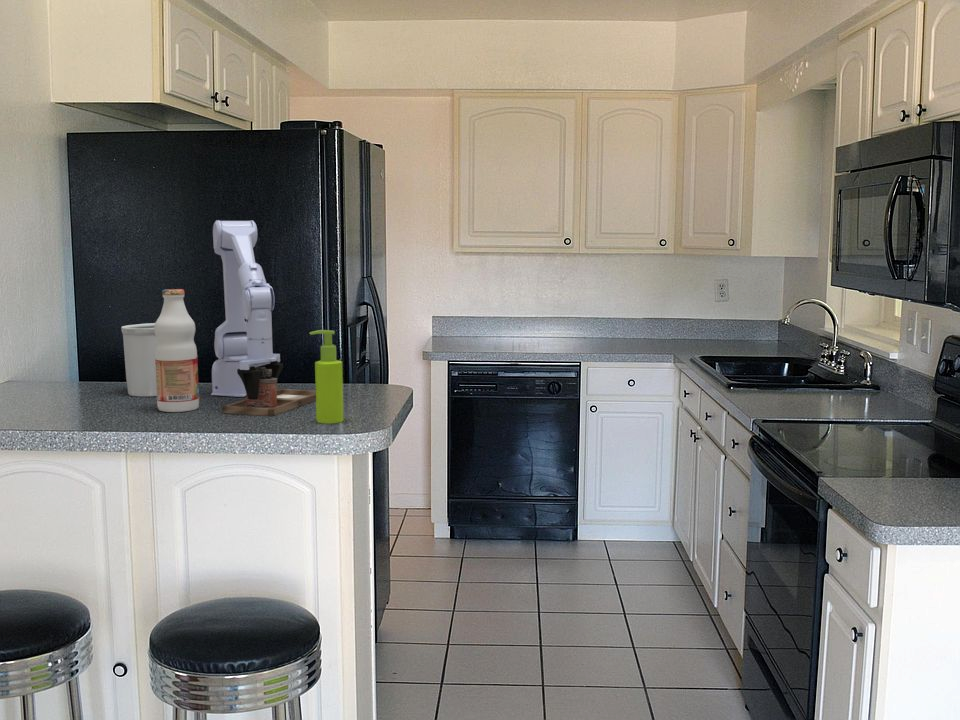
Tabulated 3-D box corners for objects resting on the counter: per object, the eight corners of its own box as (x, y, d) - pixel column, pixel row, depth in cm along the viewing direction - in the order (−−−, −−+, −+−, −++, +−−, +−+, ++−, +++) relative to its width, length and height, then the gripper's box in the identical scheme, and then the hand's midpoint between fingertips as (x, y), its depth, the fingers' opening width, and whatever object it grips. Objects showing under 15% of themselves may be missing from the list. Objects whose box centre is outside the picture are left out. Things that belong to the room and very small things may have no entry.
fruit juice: (149, 410, 230) (143, 290, 226) (182, 404, 238) (177, 287, 234) (174, 414, 225) (169, 291, 221) (207, 408, 232) (203, 289, 229)
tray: (222, 412, 226) (221, 406, 226) (280, 394, 251) (279, 388, 251) (271, 416, 222) (271, 409, 222) (325, 397, 247) (325, 391, 246)
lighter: (280, 409, 231) (279, 367, 229) (273, 411, 228) (271, 369, 226) (250, 407, 233) (249, 365, 232) (243, 409, 230) (241, 367, 229)
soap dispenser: (312, 418, 219) (310, 329, 217) (344, 418, 220) (342, 328, 217) (310, 423, 214) (308, 332, 211) (342, 423, 214) (340, 331, 211)
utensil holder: (111, 395, 251) (108, 326, 248) (151, 386, 264) (148, 321, 262) (158, 399, 245) (155, 328, 243) (197, 389, 259) (194, 323, 256)
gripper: (258, 342, 220) (260, 402, 222) (290, 335, 234) (292, 392, 236) (230, 341, 222) (232, 401, 224) (264, 335, 236) (266, 391, 238)
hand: (261, 396), depth 230 cm, fingers open, 7 cm apart
